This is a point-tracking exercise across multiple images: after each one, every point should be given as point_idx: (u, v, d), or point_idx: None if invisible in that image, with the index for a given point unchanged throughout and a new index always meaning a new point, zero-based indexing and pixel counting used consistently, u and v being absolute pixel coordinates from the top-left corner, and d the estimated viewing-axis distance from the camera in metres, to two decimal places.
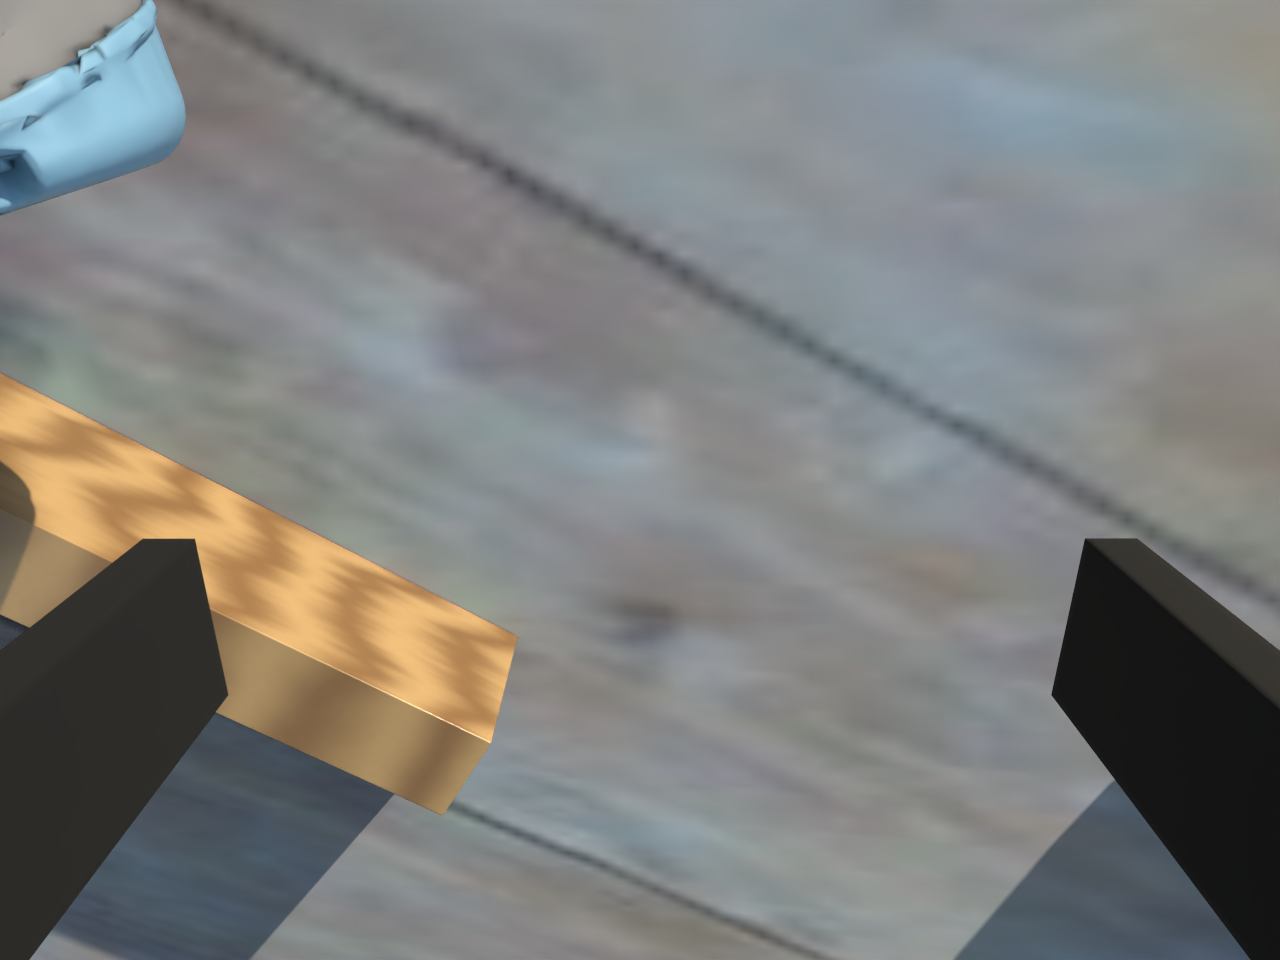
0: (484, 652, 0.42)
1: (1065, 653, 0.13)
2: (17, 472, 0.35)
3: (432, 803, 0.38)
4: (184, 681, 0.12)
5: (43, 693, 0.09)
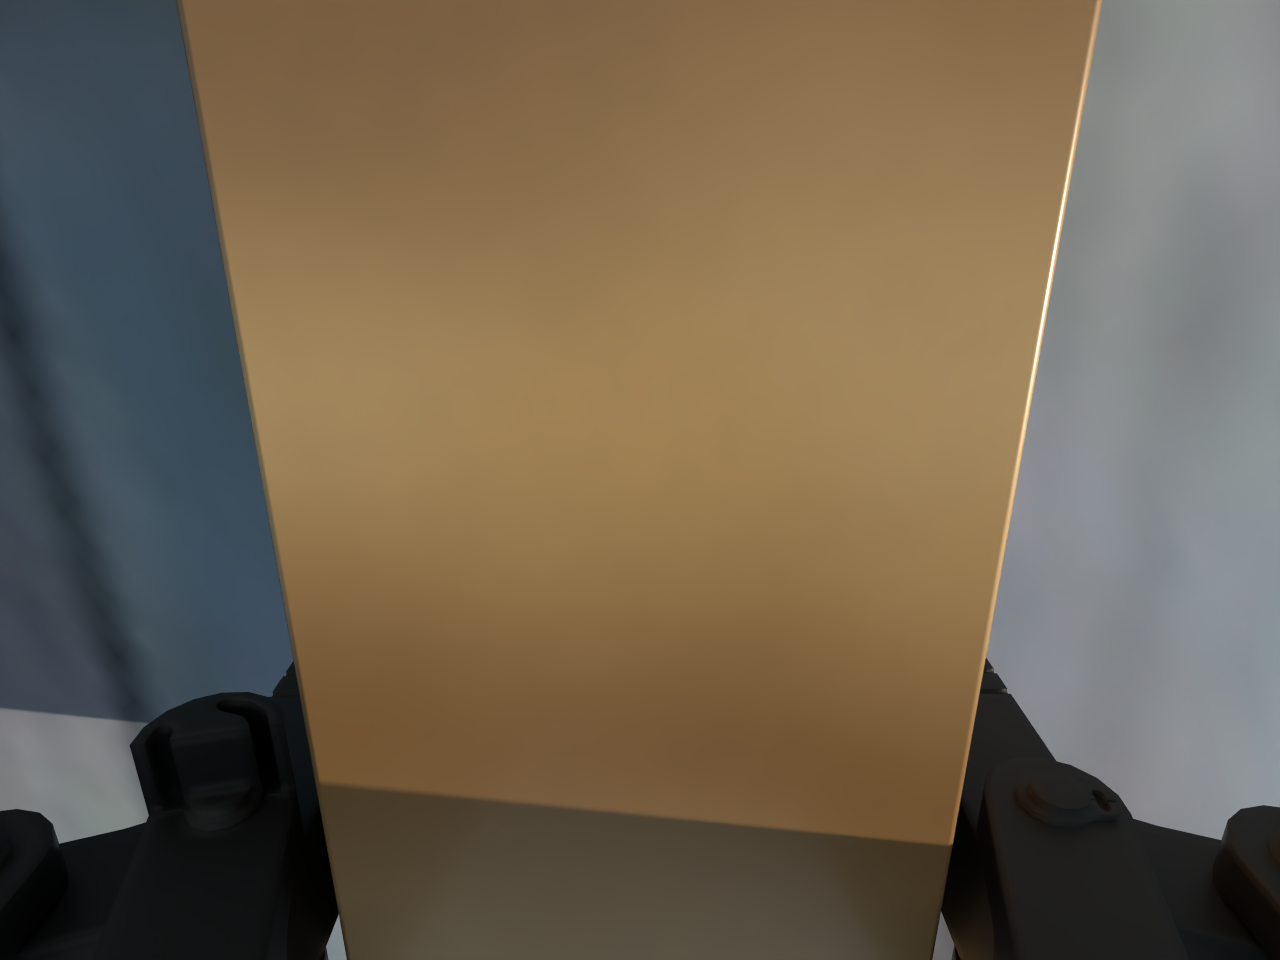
0: None
1: None
2: None
3: None
4: None
5: None
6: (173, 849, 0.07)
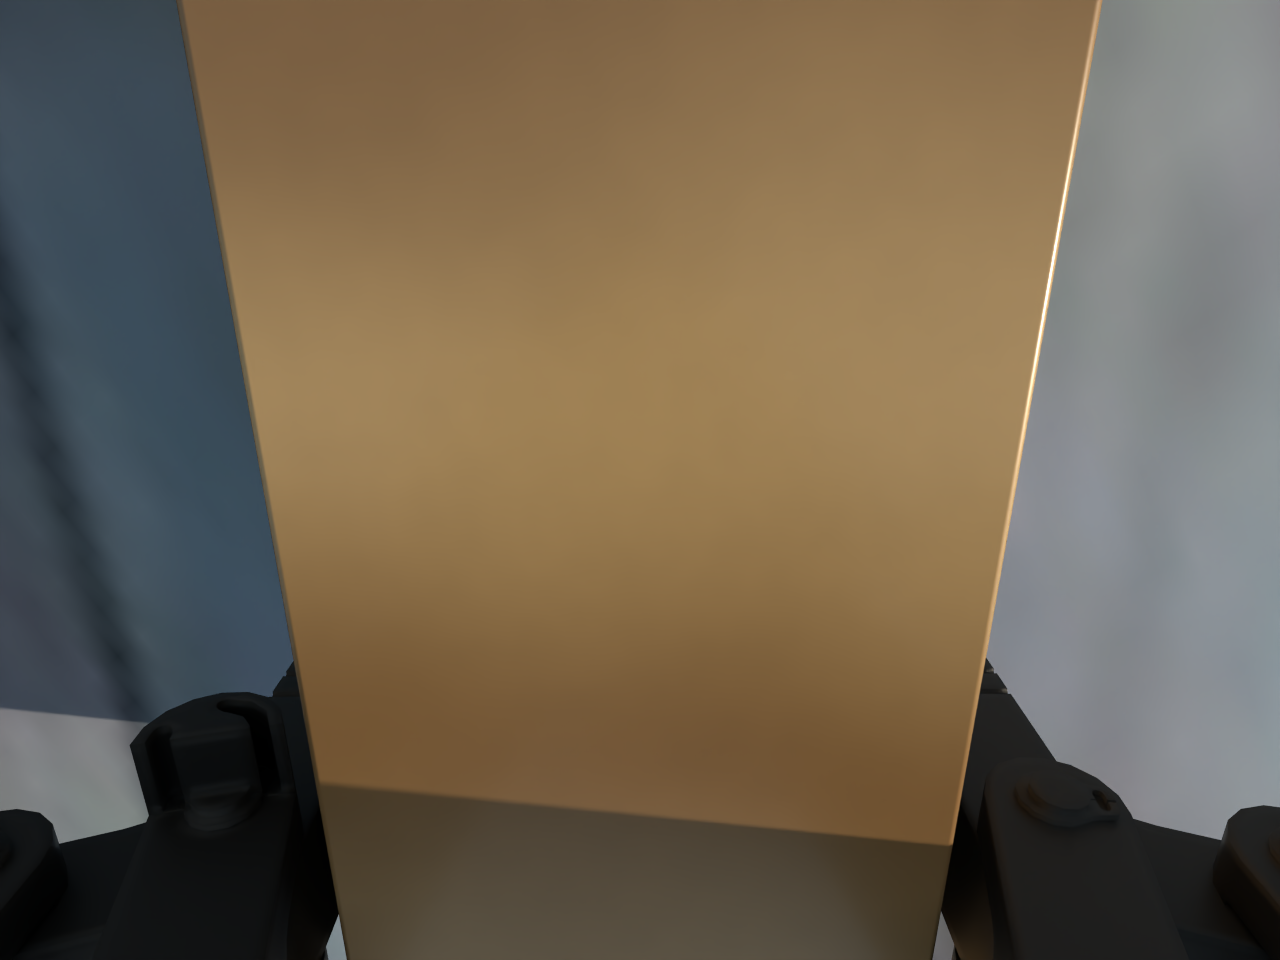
0: None
1: None
2: None
3: None
4: None
5: None
6: (173, 849, 0.07)
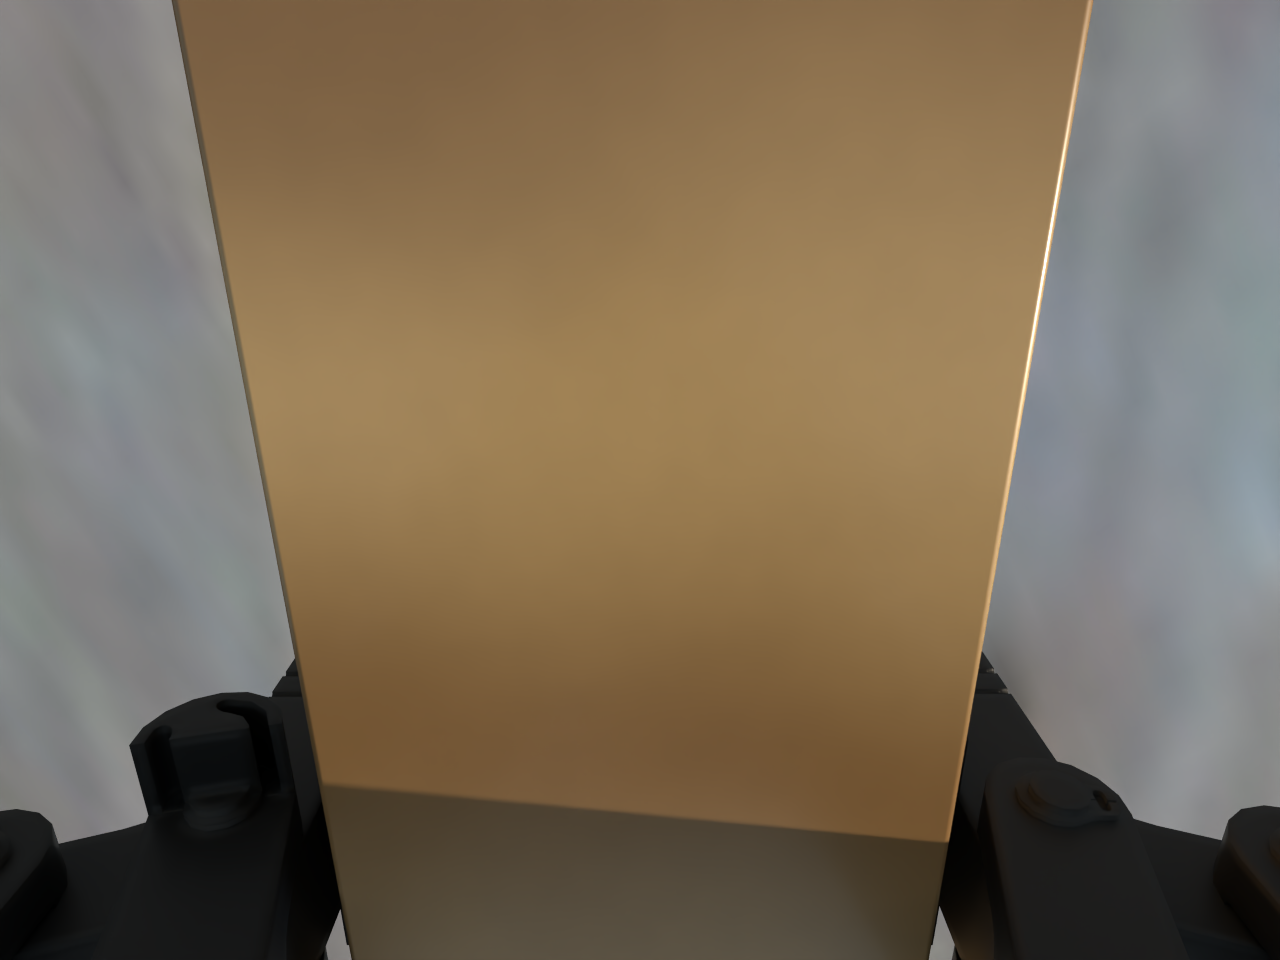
0: None
1: None
2: None
3: None
4: None
5: None
6: (173, 849, 0.07)
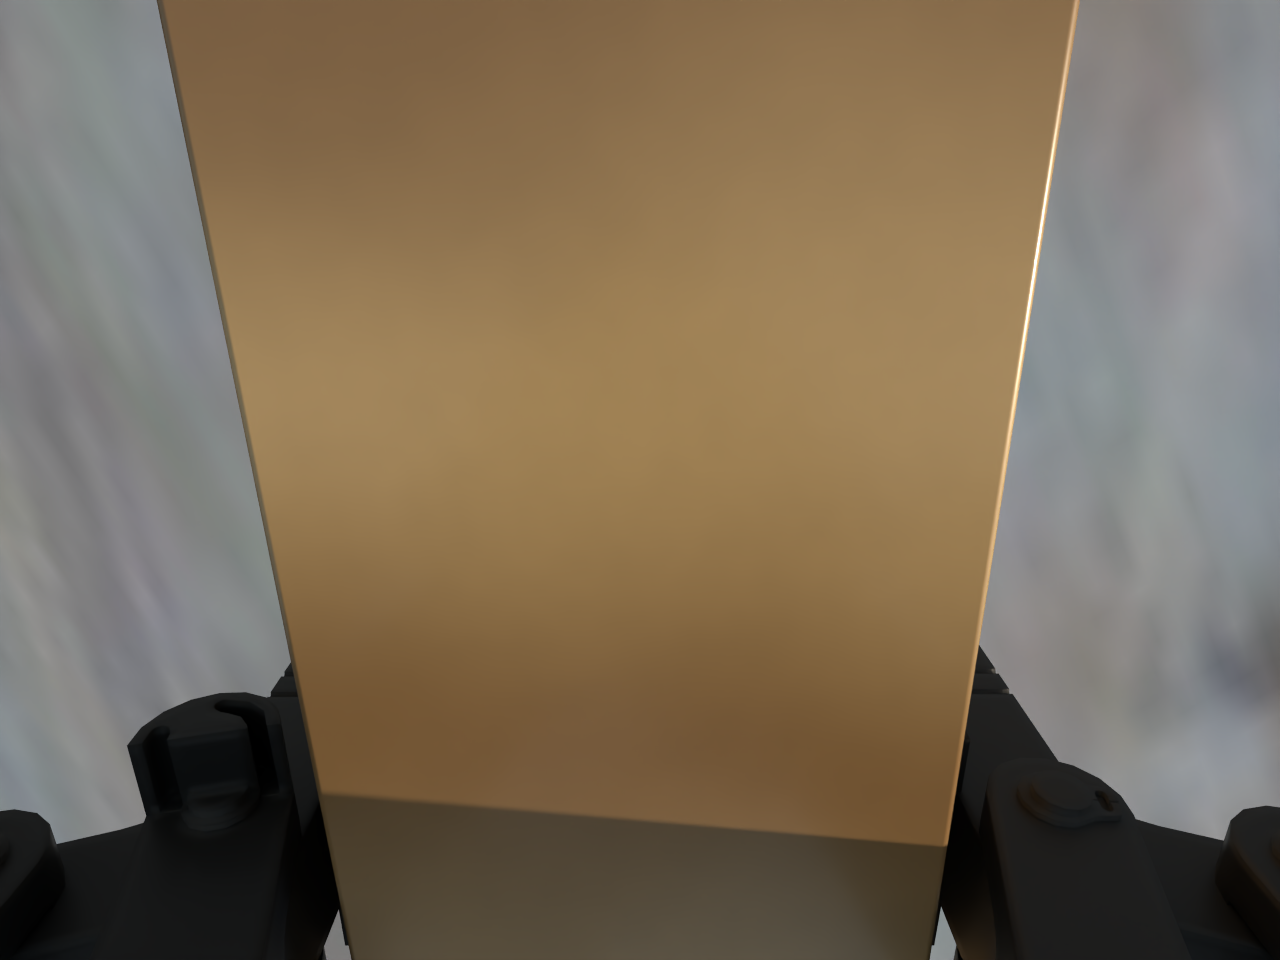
0: None
1: None
2: None
3: None
4: None
5: None
6: (170, 850, 0.07)
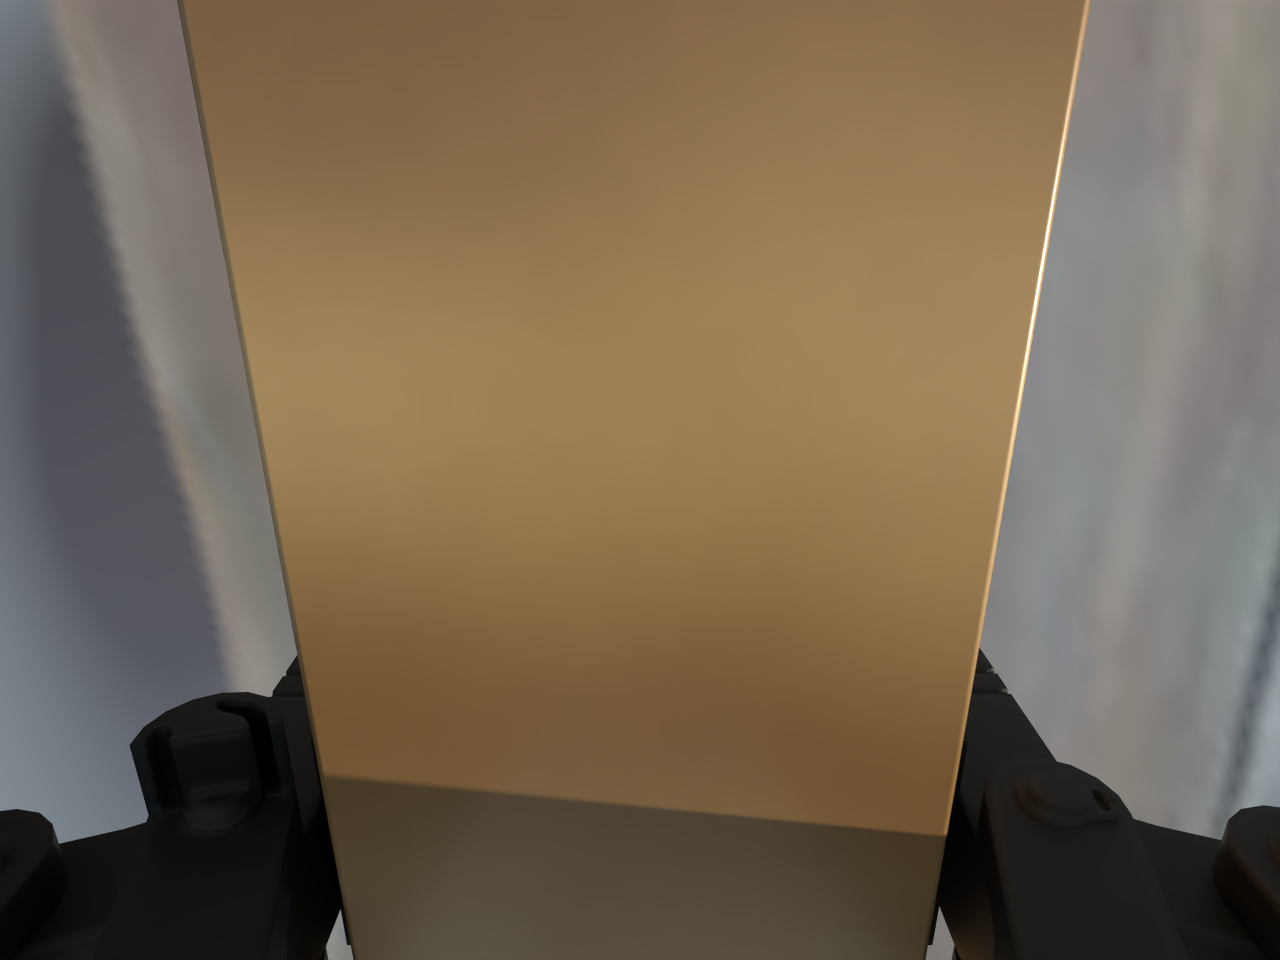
0: None
1: None
2: None
3: None
4: None
5: None
6: (173, 849, 0.07)
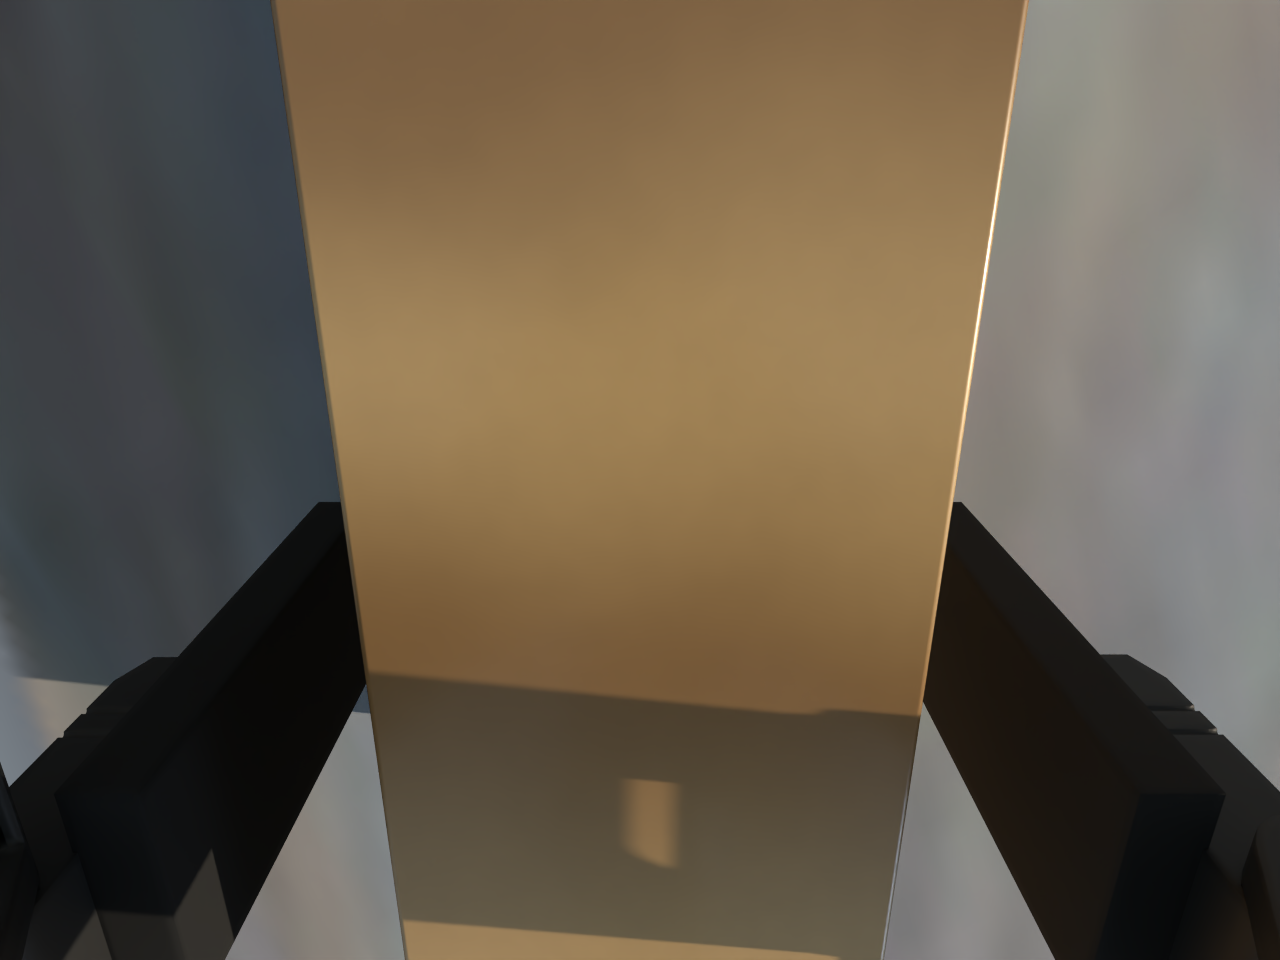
0: None
1: None
2: None
3: None
4: None
5: (284, 626, 0.10)
6: None
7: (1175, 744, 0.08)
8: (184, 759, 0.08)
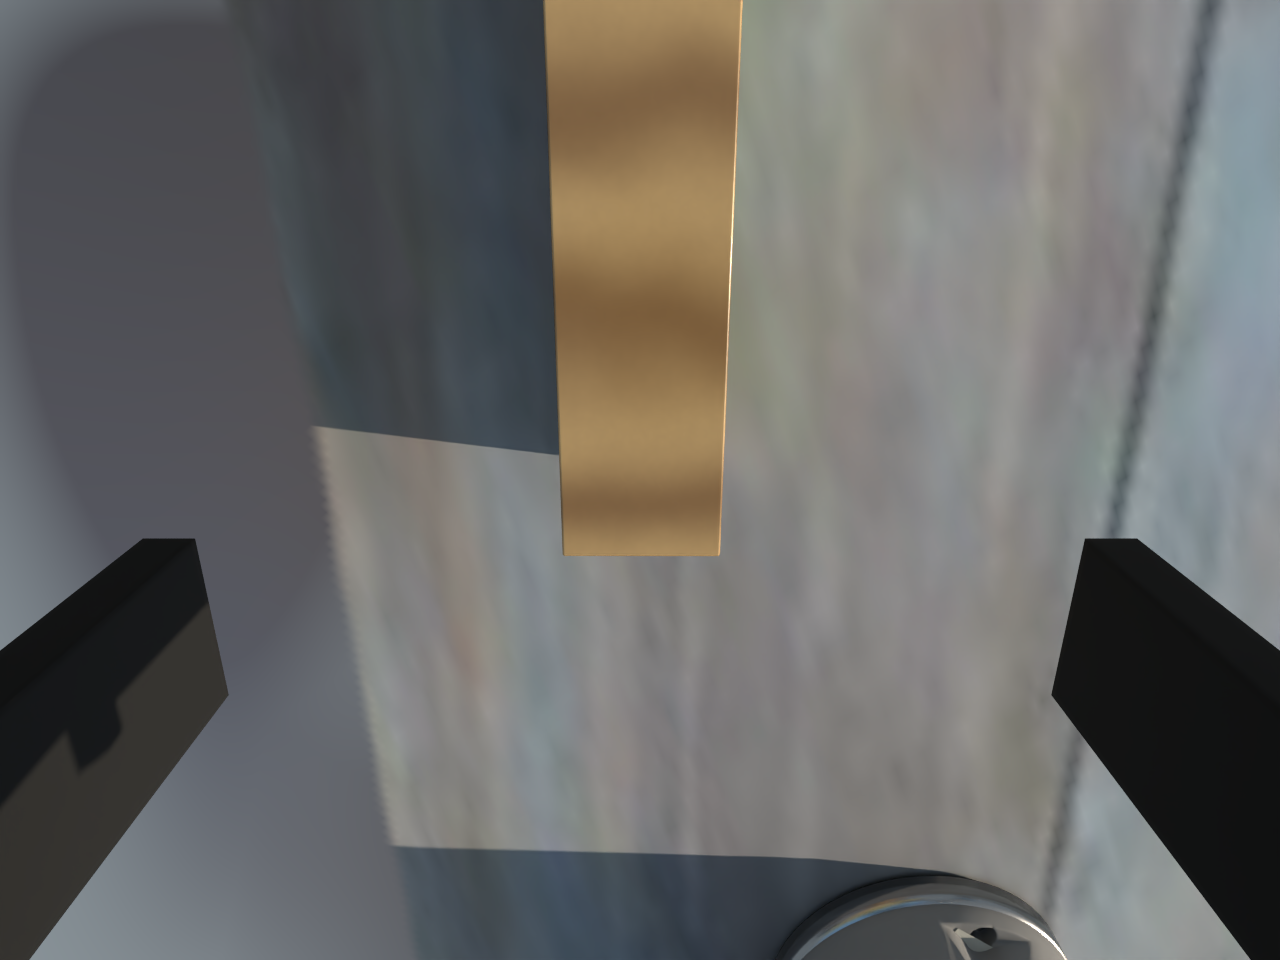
0: None
1: (1066, 653, 0.13)
2: None
3: (575, 535, 0.25)
4: (184, 681, 0.12)
5: (43, 693, 0.09)
6: None
7: None
8: None
